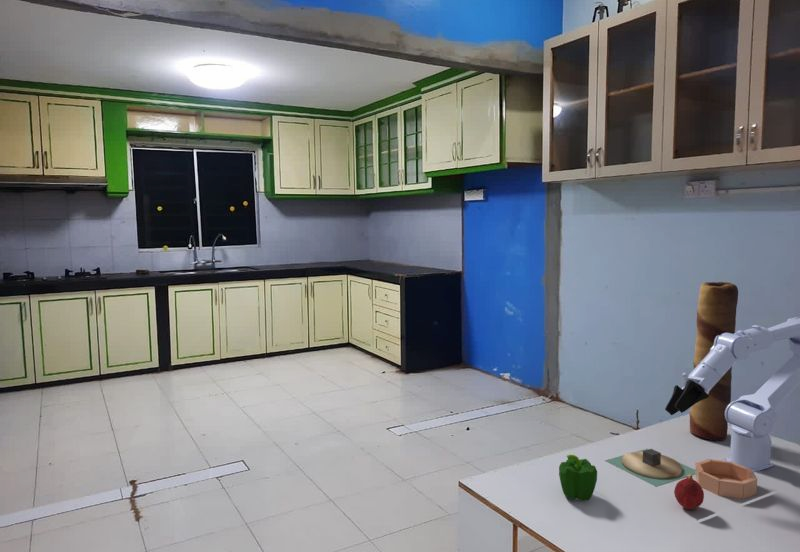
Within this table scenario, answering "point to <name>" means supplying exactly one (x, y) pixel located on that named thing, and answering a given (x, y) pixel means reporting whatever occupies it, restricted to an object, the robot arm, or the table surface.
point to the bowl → (726, 478)
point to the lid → (652, 464)
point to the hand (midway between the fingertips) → (673, 411)
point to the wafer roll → (711, 321)
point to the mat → (656, 482)
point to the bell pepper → (577, 478)
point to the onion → (689, 493)
